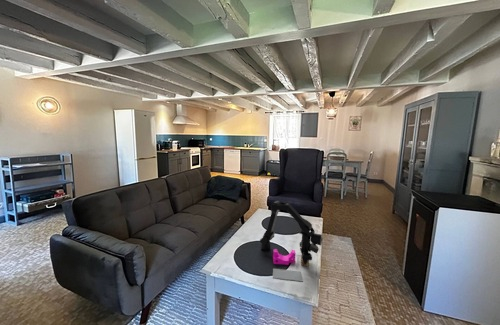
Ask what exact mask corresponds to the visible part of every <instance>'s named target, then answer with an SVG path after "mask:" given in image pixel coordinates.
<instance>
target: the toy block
mask: <svg viewBox="0 0 500 325" xmlns="http://www.w3.org/2000/svg"><path fill="white" fill-rule="evenodd" d="M272 250H273V251H272V252H273V253H272V260H273V265H286V266H289V264H291V263H292V264H295V263H296V250H294V249H291V252H290V253H288V254H287V255H283V254H281V253H279V251H278V248H273V249H272Z"/></svg>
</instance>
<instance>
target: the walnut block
mask: <svg viewBox="0 0 500 325" xmlns="http://www.w3.org/2000/svg"><path fill="white" fill-rule="evenodd" d="M300 265H301V266H305V267H309V266H310V260H308V261H307V263H306V265H305V264H304V262H303V259H302V256H301V255H300Z"/></svg>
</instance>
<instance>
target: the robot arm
mask: <svg viewBox="0 0 500 325" xmlns="http://www.w3.org/2000/svg"><path fill="white" fill-rule="evenodd" d="M280 211H287V213H288V214H289V215H290V216H291V217H292V218H293V220H295V222H296V223H297V225H298V227H299V228H300V231H299V232H298V234H299V235H301V240H300V242H299V249H300V253H301V254H300V257H301V256H302V259H303V262H304V264H305V265H306V263H307V261H308V260H309V261H312V260H313V256H312V254H311V253H310V252H313V253H315V254H318V252H319V249H320V248H319V246H322V244H323V239H324V238H323V235H322V234H320V233H315V232H316V231H315V229H314V227H313V224H312V222H310V221H309V220H308V219H305V218H304V217H303V216H302V215H301V214H300V213H299V212H298V211H297V210H296V209H295V208H294V207H293V205H291V203H288V202H284V201H281V200H275V201H274V202H272V203H271V205H270V212H271V213H270V216H269V221H268V225H267V228H266V230H265V232H264V234H263V235H262V237H261V238H260V239H259V242H260V244H261V246H260V247H261V249H260V251H264V252H270V251H271V241H272V240H273V238H275V234H276V232H275V231H274V228H275V224H276V221H277V217H278V214H279V212H280Z"/></svg>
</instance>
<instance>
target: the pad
mask: <svg viewBox="0 0 500 325" xmlns="http://www.w3.org/2000/svg"><path fill="white" fill-rule="evenodd" d="M302 274H303V273H302V271H300V270H291V269H290V270H289V269H282V268H272V279H276V280H286V281H294V282H295V281H296V282H300V283H301V282H304V281H303V280H304V279H303V276H302Z"/></svg>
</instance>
